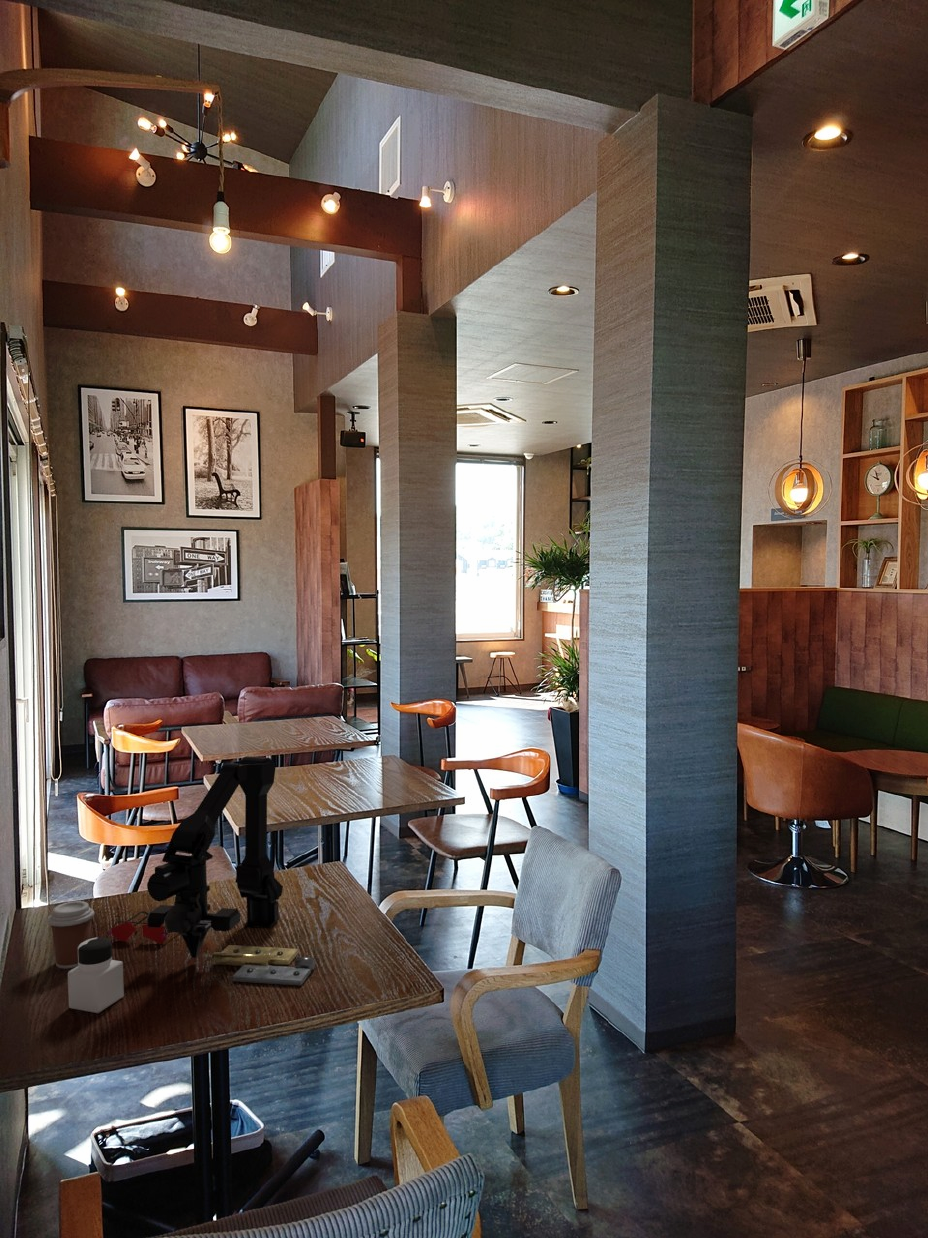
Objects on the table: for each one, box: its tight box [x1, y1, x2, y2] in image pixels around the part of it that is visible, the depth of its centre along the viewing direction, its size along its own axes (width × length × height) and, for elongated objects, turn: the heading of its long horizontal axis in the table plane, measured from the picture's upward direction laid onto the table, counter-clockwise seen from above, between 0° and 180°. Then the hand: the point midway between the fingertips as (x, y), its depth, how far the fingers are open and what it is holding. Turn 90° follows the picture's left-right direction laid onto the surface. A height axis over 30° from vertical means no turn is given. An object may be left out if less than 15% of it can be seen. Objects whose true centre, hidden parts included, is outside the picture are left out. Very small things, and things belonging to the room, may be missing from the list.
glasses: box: [109, 910, 170, 945], centre depth 202 cm, size 14×16×5 cm
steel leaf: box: [232, 956, 316, 987], centre depth 177 cm, size 14×8×2 cm, turn 80°
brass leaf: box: [210, 944, 299, 967], centre depth 184 cm, size 16×8×2 cm, turn 80°
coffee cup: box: [47, 900, 95, 970], centre depth 184 cm, size 9×9×12 cm
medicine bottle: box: [67, 936, 125, 1014], centre depth 166 cm, size 7×7×12 cm
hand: (194, 957), depth 183 cm, fingers closed
